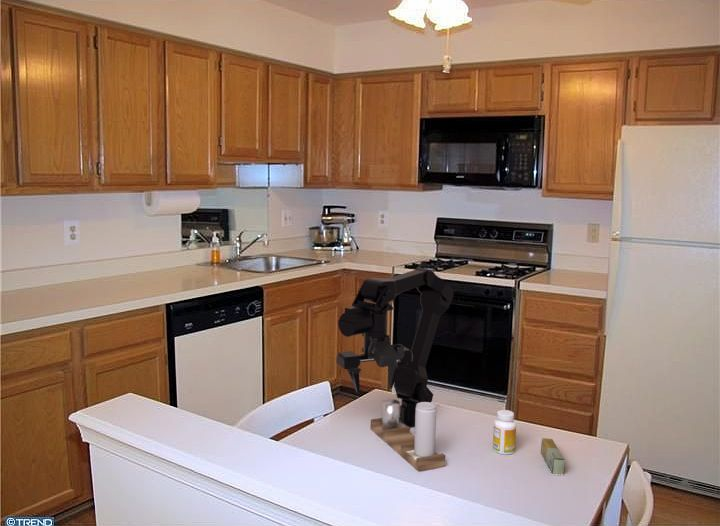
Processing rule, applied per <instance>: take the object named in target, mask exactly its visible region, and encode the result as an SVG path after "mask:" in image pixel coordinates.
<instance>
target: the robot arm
mask: <svg viewBox="0 0 720 526" xmlns="http://www.w3.org/2000/svg"><path fill="white" fill-rule="evenodd" d="M414 289H416V290H417V292H419V293H420V298H419V299H420V300H419V302H420V306H421V310H422V312H421V316H420V319H419V323H418V327H417V330H416V333H415V336H414V339H413V344H412V346H411V349H409V348H407V347H405V346H404V344H402V343H395V344H391V338H390V335H389V334H388V312H391V311H393V310H394V306H392V304H390V302H392V301H393V300H395V299H396V297H397V295H400V294H401V293H404V292H408V291H411V290H414ZM454 295H455V294H454V290H453V287H452V286H451V285H450V284H449V283H448V282H446V281H445V280H444V279H442V278H441V277H440V276H438V275H437V274H436V273H435V272H434V271H433V270H431V269H429V268H421V267H418V268H415V269H414V270H410V271H407V272H403V273H401V274H397V275H395V276H390V277H385V278H384V277H383V278H382V277H369V278H366V279H364V280H363V281H362V284H361V286H360V287H359V290H358V291H357V294H356V296H355V298H354V299H353V302H352V304H351V306H352V307H350V306H346V307H345V308H344V312H343V313H341V315H340V316H339V319H338V322H337V323H338V325H337V326H338V329H339V331H340V332H341V334H342V336H345V337H346V338H347V337H348V338H350V337H354V336H357V335H361V336H362V337H363V347H361V352H362V354H357V353H355V352H353V351H352V350H349V351H341V352H338V353H337V355H336V364H337V365H338V366H340V367H341V368H342V369H344V370H346V371H347V373H348V376H349V377H350V380H351V382H352V385H353V387H354V389H355V390H354V391H355V392H356V393H357V394H359V393H360V388H361V387H360V386H361V385H360V374H361V371H362V369H361V368H360V367H359V366H360V365H361V363H366V362H376V364H377V366H378V367H379V368H385V367H387V371H388V372H387V377H388V378H387V379H388V380H387V381H388V387H389V389H393V388H394V390H395V394H396V398H397V399H400V400H401V405H400V410H399V422H401V423H402V424H404V425H405V427H407V426H408V427H410V428H413V427H414V428H415V413H416V405H417V403H420V402H429V403H433V399H434V398H433V397H434V393H433V392H432V391H431V390H430V389H429V388H428V381H429V378H428V372H427V369H426V366H427V363H428V360H429V356H430V353H431V349H432V346H433V342H434V339H435V336H436V332H437V329H438V325H439V322H440V318H441V316H442V315H444V314H445V313H446V312H447V311H448V310H449V308H450V306H451V304H452V301H453V299H454Z"/></svg>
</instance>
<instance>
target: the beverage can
mask: <svg viewBox="0 0 720 526" xmlns="http://www.w3.org/2000/svg"><path fill="white" fill-rule="evenodd" d="M436 427H437V405H436V404H434V402H430V403H429V402H420V403H417V405H416V413H415V427H414V436H415V443H414V452H415V454H416V455H417V456H419V457H426V456H431V455H434V454H435V452H436V429H437V428H436Z"/></svg>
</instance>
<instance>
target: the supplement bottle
mask: <svg viewBox="0 0 720 526" xmlns="http://www.w3.org/2000/svg"><path fill="white" fill-rule="evenodd" d="M496 417H497V418H496V419H495V420H494V422H493V431H492V433H493V434H492V435H493V437H492V451H493V452H495V453H496V454H499V455H504V456H505V455H506V456H507V455H512V454H514V453H515V452H516V441H517V439H516V438H517V423H516V422H515V420H514V418H515V413H514V411H512V410H508V409H500V410H498V411H497V412H496Z"/></svg>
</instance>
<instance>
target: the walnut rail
mask: <svg viewBox="0 0 720 526" xmlns="http://www.w3.org/2000/svg"><path fill="white" fill-rule="evenodd" d="M381 420H382V417H379V418H378V417H377V418H373V419H372V418H371V419H370V430H371V431H372V432H373V433H374V434H375V435H377V436H378V438H380V439H381V440H383V442H385V444H387V446H389V448H391V449H392V450H393V451H395V453H397V454H398V455H399V456H400V457H402V459H404V460H405V461H406V462H407V463H408V464H409V465H410V466H411V467H413V468H414V469H415V470H416V471H417V472H418V473H420V472H426V471H430V470H435V469H440V468H444V467H445V468H446V454H445V453H443V452H441V453H437V452H436V451H435V454H434V455H431V456H426V457H419V456H417V455H416V454H415V452H414V443H415V434H413V433H412V432H411V427H408V426H403V425H401V424H400V423H399V428H395V429H389V430H382V429H381Z"/></svg>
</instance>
